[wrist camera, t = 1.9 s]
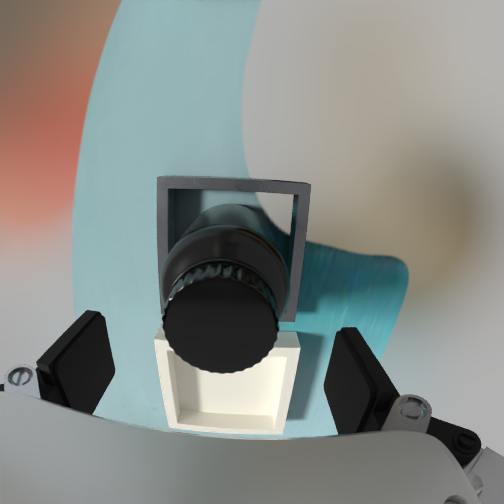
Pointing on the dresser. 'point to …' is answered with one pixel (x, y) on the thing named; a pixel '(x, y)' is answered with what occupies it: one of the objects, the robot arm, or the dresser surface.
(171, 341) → the supplement bottle
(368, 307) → the dresser surface
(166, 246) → the frame
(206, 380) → the white square tray
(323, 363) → the dresser surface
